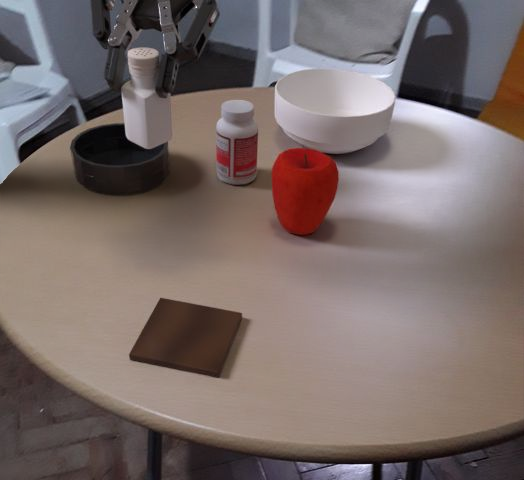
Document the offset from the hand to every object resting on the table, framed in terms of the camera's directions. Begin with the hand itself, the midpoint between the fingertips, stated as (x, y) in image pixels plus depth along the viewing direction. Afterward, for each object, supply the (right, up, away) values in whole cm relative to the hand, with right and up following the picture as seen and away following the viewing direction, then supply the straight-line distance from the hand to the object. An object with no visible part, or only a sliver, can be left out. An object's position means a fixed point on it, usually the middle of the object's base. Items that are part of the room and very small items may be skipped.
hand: (137, 90), depth 65 cm
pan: (-9, +1, +32) cm, 33 cm away
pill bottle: (+9, 0, +33) cm, 34 cm away
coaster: (+5, -25, +6) cm, 26 cm away
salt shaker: (0, -3, +6) cm, 7 cm away
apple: (+18, -10, +23) cm, 31 cm away
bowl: (+24, +9, +43) cm, 50 cm away
